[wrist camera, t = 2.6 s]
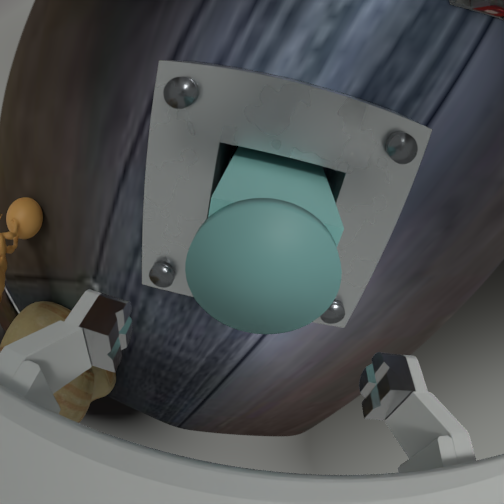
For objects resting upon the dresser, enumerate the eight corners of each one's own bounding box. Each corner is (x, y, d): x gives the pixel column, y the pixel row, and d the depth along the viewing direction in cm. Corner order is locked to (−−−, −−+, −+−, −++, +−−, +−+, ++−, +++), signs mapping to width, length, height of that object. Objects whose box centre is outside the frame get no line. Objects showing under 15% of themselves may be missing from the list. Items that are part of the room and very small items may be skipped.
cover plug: (240, 124, 21) (194, 190, 10) (323, 144, 21) (365, 230, 11) (225, 199, 24) (180, 317, 14) (301, 217, 25) (312, 344, 14)
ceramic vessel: (77, 381, 43) (23, 509, 22) (-3, 290, 34) (-94, 422, 13) (155, 376, 39) (102, 551, 18) (60, 258, 29) (-73, 455, 8)
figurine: (26, 165, 24) (-64, 227, 14) (72, 189, 25) (-16, 266, 15) (20, 232, 28) (-48, 300, 18) (61, 256, 29) (-4, 336, 19)
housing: (195, 61, 19) (154, 60, 12) (391, 110, 19) (437, 132, 13) (171, 233, 26) (139, 289, 20) (333, 269, 27) (345, 334, 21)
